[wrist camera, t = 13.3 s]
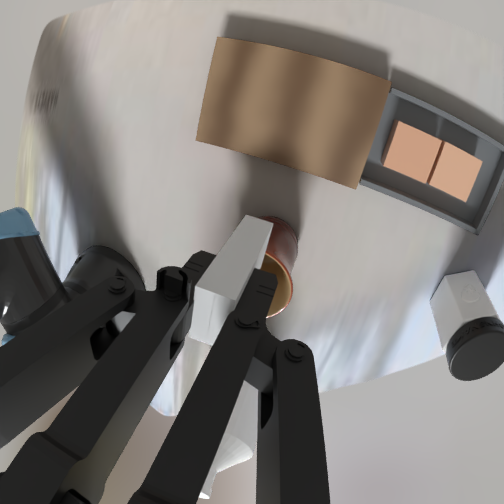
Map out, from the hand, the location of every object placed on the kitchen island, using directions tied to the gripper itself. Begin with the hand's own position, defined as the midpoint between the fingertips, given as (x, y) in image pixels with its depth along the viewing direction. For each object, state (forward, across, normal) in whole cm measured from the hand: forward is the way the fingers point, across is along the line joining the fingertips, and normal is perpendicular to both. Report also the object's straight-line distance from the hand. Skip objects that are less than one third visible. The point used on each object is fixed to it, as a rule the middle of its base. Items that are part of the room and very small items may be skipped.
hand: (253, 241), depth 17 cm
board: (+20, -2, +6) cm, 21 cm away
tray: (+20, +15, +6) cm, 26 cm away
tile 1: (+17, +16, +6) cm, 25 cm away
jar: (+21, +27, -10) cm, 35 cm away
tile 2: (+20, +11, +6) cm, 23 cm away
